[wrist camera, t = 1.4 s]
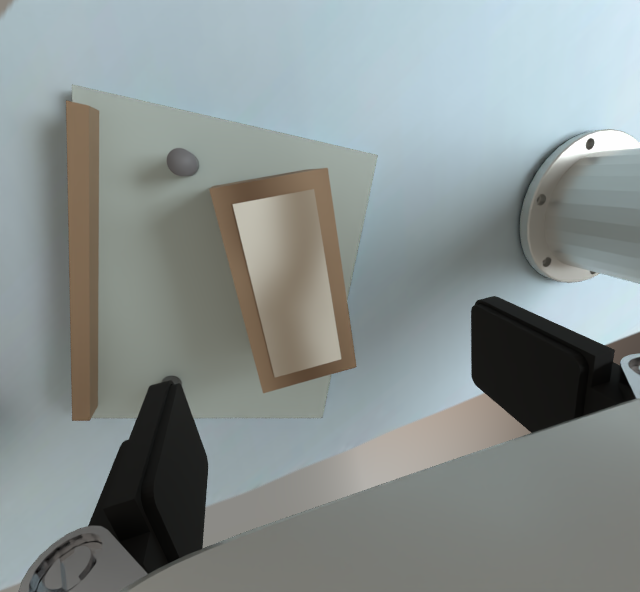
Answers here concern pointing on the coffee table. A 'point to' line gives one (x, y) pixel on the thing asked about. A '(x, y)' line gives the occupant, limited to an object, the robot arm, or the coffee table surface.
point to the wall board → (177, 255)
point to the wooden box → (287, 274)
